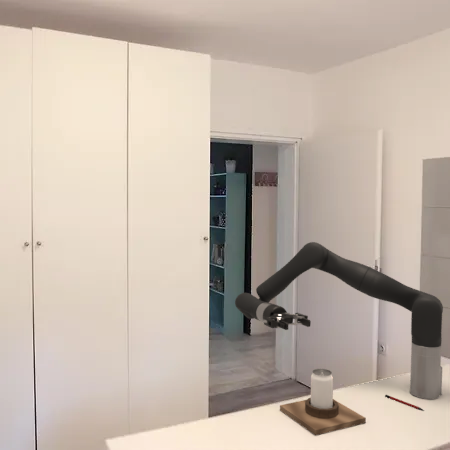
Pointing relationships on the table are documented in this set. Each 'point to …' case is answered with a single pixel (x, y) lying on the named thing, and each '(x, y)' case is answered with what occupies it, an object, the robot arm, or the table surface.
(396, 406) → the table surface
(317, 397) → the can
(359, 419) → the socket board
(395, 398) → the pencil
